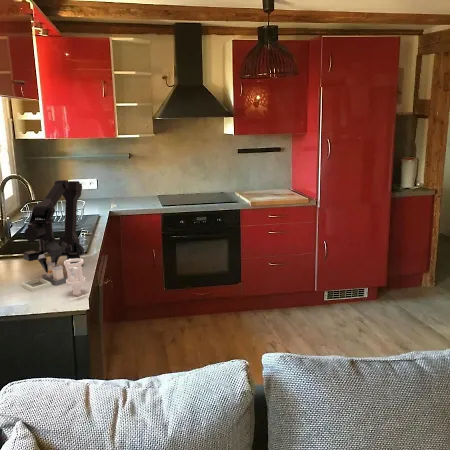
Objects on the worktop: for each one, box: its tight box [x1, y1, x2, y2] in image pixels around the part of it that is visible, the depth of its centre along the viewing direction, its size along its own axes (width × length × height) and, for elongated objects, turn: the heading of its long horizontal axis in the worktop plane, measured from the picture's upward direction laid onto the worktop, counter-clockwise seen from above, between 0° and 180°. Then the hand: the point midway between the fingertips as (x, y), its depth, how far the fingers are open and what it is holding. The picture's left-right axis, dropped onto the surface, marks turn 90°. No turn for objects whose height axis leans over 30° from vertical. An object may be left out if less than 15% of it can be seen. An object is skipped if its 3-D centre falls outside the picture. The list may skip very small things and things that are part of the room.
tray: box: [20, 277, 53, 293], centre depth 201 cm, size 10×8×2 cm
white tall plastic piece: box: [63, 258, 86, 298], centre depth 190 cm, size 7×7×15 cm
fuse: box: [52, 264, 65, 280], centre depth 204 cm, size 4×3×7 cm
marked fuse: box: [45, 260, 55, 277], centre depth 208 cm, size 4×3×7 cm
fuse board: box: [41, 273, 68, 287], centre depth 207 cm, size 12×5×3 cm, turn 45°
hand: (50, 271), depth 208 cm, fingers closed on marked fuse, 3 cm apart
